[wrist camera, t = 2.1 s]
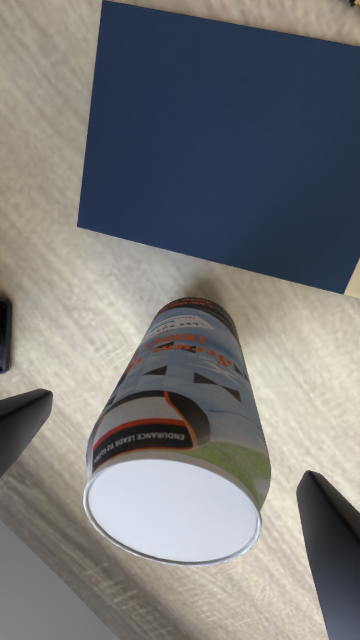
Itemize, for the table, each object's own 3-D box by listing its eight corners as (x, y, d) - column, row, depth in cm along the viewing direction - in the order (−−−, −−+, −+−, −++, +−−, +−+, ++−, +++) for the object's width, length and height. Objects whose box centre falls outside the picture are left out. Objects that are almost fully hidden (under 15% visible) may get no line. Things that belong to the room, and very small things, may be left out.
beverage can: (222, 282, 16) (251, 340, 4) (249, 377, 17) (323, 607, 6) (140, 308, 17) (-7, 405, 6) (171, 394, 19) (104, 611, 7)
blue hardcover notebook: (367, 300, 15) (372, 302, 15) (79, 227, 16) (76, 226, 16) (475, 75, 12) (486, 67, 11) (105, 6, 13) (101, -2, 13)
